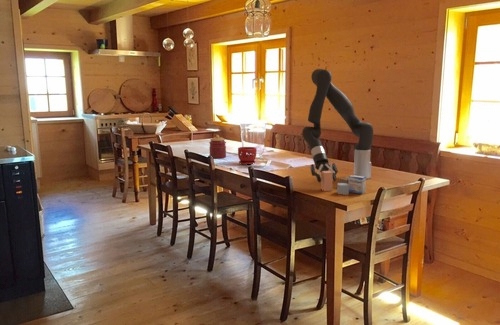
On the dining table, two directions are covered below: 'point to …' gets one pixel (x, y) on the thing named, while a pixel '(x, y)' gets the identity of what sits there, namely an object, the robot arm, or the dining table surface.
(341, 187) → the slate blue cube
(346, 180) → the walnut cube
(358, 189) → the medicine box
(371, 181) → the dining table surface
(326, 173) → the terracotta block
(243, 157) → the plant pot
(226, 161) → the dining table surface
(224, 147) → the canister
